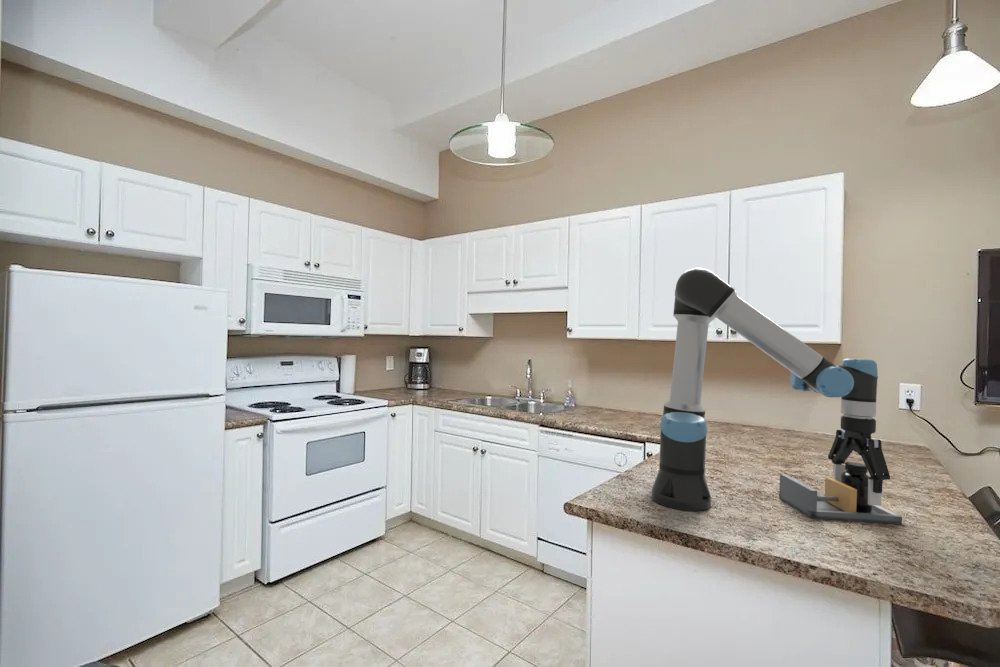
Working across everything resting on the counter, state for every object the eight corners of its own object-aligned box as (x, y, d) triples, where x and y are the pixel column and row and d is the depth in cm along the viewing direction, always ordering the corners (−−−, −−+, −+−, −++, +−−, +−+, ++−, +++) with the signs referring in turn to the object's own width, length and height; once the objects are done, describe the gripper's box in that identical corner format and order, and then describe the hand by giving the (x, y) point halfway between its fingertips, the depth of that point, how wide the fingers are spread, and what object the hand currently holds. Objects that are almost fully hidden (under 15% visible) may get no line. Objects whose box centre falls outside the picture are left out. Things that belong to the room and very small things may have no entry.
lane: (810, 518, 119) (811, 490, 119) (779, 498, 134) (780, 473, 134) (901, 523, 117) (902, 495, 117) (860, 503, 132) (860, 478, 132)
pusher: (825, 512, 120) (826, 487, 121) (802, 498, 131) (802, 475, 131) (856, 514, 120) (857, 489, 120) (830, 500, 131) (830, 477, 131)
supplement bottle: (862, 505, 128) (863, 461, 128) (877, 514, 121) (879, 468, 121) (834, 503, 129) (835, 459, 129) (848, 512, 122) (849, 466, 123)
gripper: (910, 425, 113) (907, 514, 112) (842, 410, 137) (839, 482, 137) (877, 424, 113) (875, 512, 113) (815, 408, 138) (813, 480, 138)
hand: (855, 496), depth 125 cm, fingers open, 13 cm apart
